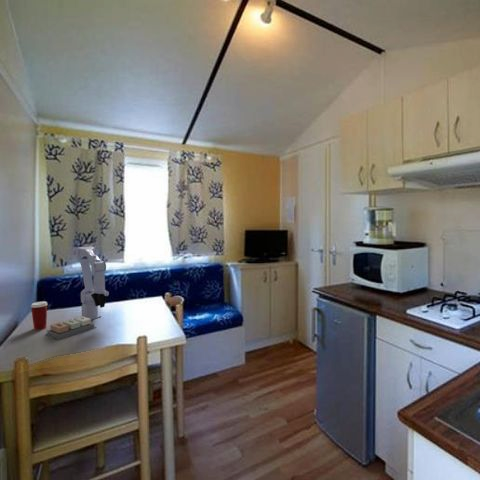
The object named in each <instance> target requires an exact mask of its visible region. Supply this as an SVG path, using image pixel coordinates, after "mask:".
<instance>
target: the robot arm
mask: <svg viewBox="0 0 480 480" xmlns="http://www.w3.org/2000/svg"><path fill="white" fill-rule="evenodd" d="M75 259H76V261H77V262H78V263H79V265H80V266H81V267H80V268H81V272H82V273H81V274H82V278H83V284H84V285H83V286H84V289H82V290H81V291H80V302H81V303H82V305H81V306H80V307H81V308H80V309H81V316H83V317H86V318H90V319H91V321H92V320H95V319H97V318H98V319H99V318H101V317H102V316H101V315H99V309H98V308H99V307H100V308H104V307H105V305H106V302H107V298H108V297H109V295H110V292H109V291H108V290H106V277H105V274H106V273H105V271H106V270H107V264H106V262H105V260H101V259H100V257H99V256H98V255H96V249H95V246H93V245H91V246H90V245H89V246H77V247H75Z"/></svg>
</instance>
